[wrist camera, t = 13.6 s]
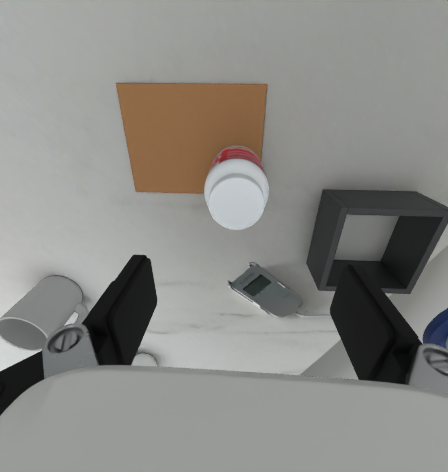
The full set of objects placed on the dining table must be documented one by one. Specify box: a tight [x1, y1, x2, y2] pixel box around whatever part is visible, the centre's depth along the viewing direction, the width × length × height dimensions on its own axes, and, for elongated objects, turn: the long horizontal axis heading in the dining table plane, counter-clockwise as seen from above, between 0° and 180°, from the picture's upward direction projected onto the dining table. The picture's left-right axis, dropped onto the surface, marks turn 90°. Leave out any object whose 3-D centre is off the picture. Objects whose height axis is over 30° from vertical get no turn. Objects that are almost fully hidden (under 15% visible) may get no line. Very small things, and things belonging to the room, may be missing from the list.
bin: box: [307, 190, 448, 294], centre depth 30 cm, size 12×12×6 cm
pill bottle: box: [204, 146, 269, 230], centre depth 24 cm, size 6×6×11 cm
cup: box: [0, 276, 89, 351], centre depth 37 cm, size 7×10×9 cm
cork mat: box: [116, 83, 267, 193], centre depth 28 cm, size 16×12×1 cm
